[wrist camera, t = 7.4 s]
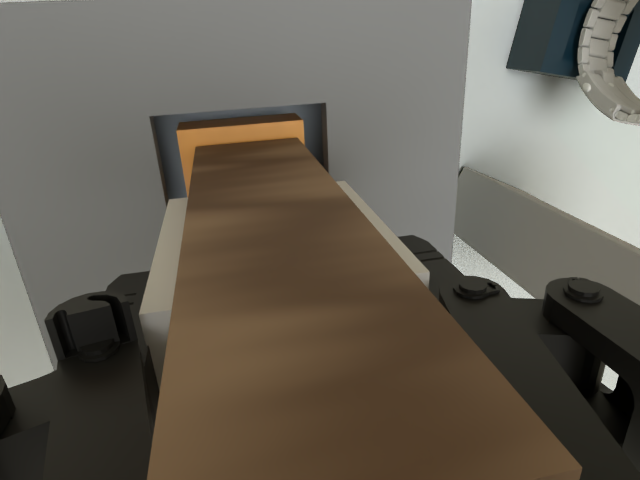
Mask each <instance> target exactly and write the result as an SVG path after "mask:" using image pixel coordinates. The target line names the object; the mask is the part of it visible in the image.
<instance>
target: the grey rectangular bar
mask: <svg viewBox="0 0 640 480" xmlns="http://www.w3.org/2000/svg"><path fill="white" fill-rule="evenodd" d="M454 234H455V235H457V236H458V237H459V238H460V239H462V240H463V241H464V242H465V243H467V244H468V245H469V246H470V247H472V248H473V249H474V250H475V251H477V252H478V253H479V254H480V255H482V256H483V257H484V258H485V259H487V260H488V261H489V262H490V263H492V264H493V265H494V266H495V267H497V268H498V269H499V270H500V271H502V272H503V273H504V274H505V275H507V276H508V277H509V278H510V279H512V280H513V281H514V282H516V283H517V284H518V285H519V286H521V287H522V288H523V289H524V290H526V291H527V292H528V293H529V294H531V295H532V296H533V297H534V298H536V299H544V294H545V289H546V285H547V284H548V283H549V282H550V281H552V280H555V279H558V278H569V277H578V278H579V277H580V278H586V279H589V280H591V281H594V282H598V283H600V284H603V285H605V286H607V287H609V288H611V289H613V290H614V291H616V292H618V293H620V294H621V295H623V296H625V297H626V298H628V299H630V300H631V301H633V302H635V303H636V304H638V305H640V249H639V248H637V247H635V246H633V245H631V244H629V243H627V242H625V241H623V240H621V239H619V238H617V237H615V236H613V235H611V234H609V233H606V232H604V231H602V230H600V229H598V228H596V227H594V226H592V225H590V224H588V223H586V222H584V221H582V220H580V219H578V218H576V217H574V216H572V215H570V214H568V213H566V212H564V211H561V210H559V209H557V208H555V207H553V206H551V205H549V204H547V203H545V202H543V201H541V200H539V199H538V198H536V197H534V196H532V195H530V194H528V193H526V192H524V191H522V190H519V189H517V188H515V187H512V186H510V185H508V184H505V183H503V182H500V181H498V180H496V179H493V178H491V177H489V176H486V175H484V174H481V173H479V172H477V171H474V170H472V169H470V168H467V167H464V168H463V170H462V172H461V174H460V176H459V178H458V185H457V198H456V211H455V223H454Z"/></svg>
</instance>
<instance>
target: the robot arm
mask: <svg viewBox="0 0 640 480" xmlns="http://www.w3.org/2000/svg"><path fill="white" fill-rule="evenodd" d="M336 183H337V184H338V185H339V186H340V187H341V188H342V190H343V191H344V192H345V193H346V194H347V195H348V196H349V198H350V199H351V200H352V201H353V202H354V203H355V205H356V206H357V207H358V208H359V209H360V210H361V212H362V213H363V214H364V215H365V216H366V217H367V219H368V220H369V221H370V222H371V223H372V224H373V225H374V227H375V228H376V229H377V230H378V231H379V232H380V234H381V235H382V236H383V237H384V238H385V239H386V241H387V242H388V243H389V244H390V245H391V246H392V247H393V249H394V250H395V251H396V252H397V253H398V254H399V256H400V257H401V258H402V259H403V260H404V261H405V263H406V264H407V265H408V266H409V267H410V268H411V270H412V271H413V272H414V273H415V274H416V275H417V276H418V278H419V279H420V280H421V281H422V282H423V283H424V285H425V286H426V287H427V288H428V289H429V290H430V292H431V293H432V294H433V295H434V296H435V297H436V298H437V300H438V301H439V302H440V303H441V304H442V305H443V307H444V308H445V309H446V310H447V311H448V312H449V314H450V315H451V316H452V317H453V318H454V319H455V320H456V322H457V323H458V324H459V325H460V326H461V327H462V329H463V330H464V331H465V332H466V333H467V334H468V336H469V337H470V338H471V339H472V340H473V341H474V343H475V344H476V345H477V346H478V347H479V348H480V349H481V351H482V352H483V353H484V354H485V355H486V356H487V358H488V359H489V360H490V361H491V362H492V363H493V365H494V366H495V367H496V368H497V369H498V370H499V371H500V373H501V374H502V375H503V376H504V377H505V378H506V380H507V381H508V382H509V383H510V384H511V385H512V387H513V388H514V389H515V390H516V391H517V392H518V394H519V395H520V396H521V397H522V398H523V399H524V400H525V402H526V403H527V404H528V405H529V406H530V407H531V409H532V410H533V411H534V412H535V413H536V414H537V416H538V417H539V418H540V419H541V420H542V421H543V422H544V424H545V425H546V426H547V427H548V428H549V429H550V431H551V432H552V433H553V434H554V435H555V436H556V438H557V439H558V440H559V441H560V442H561V443H562V444H563V446H564V447H565V448H566V449H567V450H568V451H569V453H570V454H571V455H572V456H573V457H574V458H575V460H576V461H577V462H578V463H579V464H580V465H581V467H582V472H581V475H580V479H579V480H640V305H638V304H636V303H635V302H633V301H631V300H630V299H628V298H626V297H625V296H623V295H621V294H620V293H618V292H616V291H614V290H613V289H611V288H609V287H607V286H605V285H603V284H600V283H598V282H594V281H591V280H589V279H586V278H580V277H579V278H578V277H569V278H558V279H555V280H552V281H550V282H549V283H548V284H547V285H546V289H545V294H544V299H523V298H511V297H510V296H509V295H508V293H507V292H506V291H505V289H503V288H502V287H501V286H500V285H499V284H498V283H495V282H493V281H491V280H489V279H486V278H481V277H477V276H464V275H463V274H462V273H461V272H460V271H459V270H458V269H457V268H456V267H455V266H454V265H453V264H451V263H450V262H449V261H448V260H447V259H444V256H443V255H442V254H441V253H440V252H439V251H438V252H437V249H436V248H434V247H433V246H432V245H431V244H430V243H429V242H428V241H426V240H424V239H421V238H419V237H417V236H415V235H408V236H400V237H397V236H396V235H395V234H394V233H393V232H392V231H391V230H390V229H389V228H388V226H387V225H386V224H385V223H384V222H383V221H382V220H381V219H380V218H379V217H378V216H377V215H376V214H375V213H374V211H373V210H372V209H371V208H370V207H369V206H368V205H367V204H366V203H365V202H364V201H363V200H362V199H361V198H360V196H359V195H358V194H357V193H356V192H355V191H354V190H353V189H352V188H351V187H350V186H349V185H348V184H347V183H346V181H337V182H336ZM187 201H188V197H187V198H178V199H169V201H168V205H167V209H166V212H165V216H164V220H163V224H162V228H161V232H160V235H159V239H158V243H157V247H156V251H155V254H154V258H153V262H152V266H151V270H150V271H145V272H137V273H130V274H122V275H120V276H119V277H117V278H116V279H115V280H114V281H113V282H112V283H110V284H109V285H108V286H107V289H106V291H100V292H93V293H87V294H84V295H80V296H77V297H74V298H71V299H69V300H67V301H65V302H63V303H61V304H59V305H58V306H57V307H55V308H54V309H53V310H51V311H50V312H49V313H48V315H47V317H46V318H45V320H44V322H45V325H46V328H47V331H48V334H49V337H50V340H51V343H52V346H53V348H54V351H55V354H56V357H57V360H58V362H57V370H55V371H53V372H52V373H50V374H47V375H45V376H42V377H40V378H37V379H34V380H31V381H29V382H26V383H23V384H20V385H17V386H14V387H11V388H7V385H6V383H5V381H4V379H3V377H2V375H0V480H147V475H148V468H149V462H150V455H151V448H152V441H153V434H154V427H155V420H156V414H157V407H158V400H159V393H160V386H161V379H162V373H163V366H164V359H165V352H166V345H167V338H168V332H169V325H170V318H171V311H172V304H173V297H174V290H175V284H176V277H177V270H178V263H179V256H180V249H181V243H182V236H183V229H184V222H185V215H186V208H187ZM605 365H607V366H608V367H610V368H611V369H612V370H613V371H615V372H616V373H617V374H618V375H619V377H618V380H617V384H616V388H615V389H614V391H612V390H611V389H609V388H607V387H606V386H605V385H604V384H602V383H601V381H602V377H603V373H604V369H605Z"/></svg>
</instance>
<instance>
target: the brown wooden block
mask: <svg viewBox="0 0 640 480" xmlns="http://www.w3.org/2000/svg"><path fill="white" fill-rule="evenodd" d="M581 472H582V467H581V465H580V464H579V463H578V462H577V461H576V460H575V458H574V457H573V456H572V455H571V454H570V453H569V451H568V450H567V449H566V448H565V447H564V446H563V444H562V443H561V442H560V441H559V440H558V439H557V438H556V436H555V435H554V434H553V433H552V432H551V431H550V429H549V428H548V427H547V426H546V425H545V424H544V422H543V421H542V420H541V419H540V418H539V417H538V416H537V414H536V413H535V412H534V411H533V410H532V409H531V407H530V406H529V405H528V404H527V403H526V402H525V400H524V399H523V398H522V397H521V396H520V395H519V394H518V392H517V391H516V390H515V389H514V388H513V387H512V385H511V384H510V383H509V382H508V381H507V380H506V378H505V377H504V376H503V375H502V374H501V373H500V371H499V370H498V369H497V368H496V367H495V366H494V365H493V363H492V362H491V361H490V360H489V359H488V358H487V356H486V355H485V354H484V353H483V352H482V351H481V349H480V348H479V347H478V346H477V345H476V344H475V343H474V341H473V340H472V339H471V338H470V337H469V336H468V334H467V333H466V332H465V331H464V330H463V329H462V327H461V326H460V325H459V324H458V323H457V322H456V320H455V319H454V318H453V317H452V316H451V315H450V314H449V312H448V311H447V310H446V309H445V308H444V307H443V305H442V304H441V303H440V302H439V301H438V300H437V298H436V297H435V296H434V295H433V294H432V293H431V292H430V290H429V289H428V288H427V287H426V286H425V285H424V283H423V282H422V281H421V280H420V279H419V278H418V276H417V275H416V274H415V273H414V272H413V271H412V270H411V268H410V267H409V266H408V265H407V264H406V263H405V261H404V260H403V259H402V258H401V257H400V256H399V254H398V253H397V252H396V251H395V250H394V249H393V247H392V246H391V245H390V244H389V243H388V242H387V241H386V239H385V238H384V237H383V236H382V235H381V234H380V232H379V231H378V230H377V229H376V228H375V227H374V225H373V224H372V223H371V222H370V221H369V220H368V219H367V217H366V216H365V215H364V214H363V213H362V212H361V210H360V209H359V208H358V207H357V206H356V205H355V203H354V202H353V201H352V200H351V199H350V198H349V196H348V195H347V194H346V193H345V192H344V191H343V190H342V188H341V187H340V186H339V185H338V184H337V183H336V181H335V180H334V179H333V178H332V177H331V176H330V174H329V173H328V172H327V171H326V170H325V169H324V168H323V166H322V165H321V164H320V163H319V162H318V161H317V159H316V158H315V157H314V156H313V155H312V154H311V152H310V151H309V150H308V149H307V148H306V147H305V146H304V144H303V143H302V142H301V141H300V140H299V139H298V138H287V139H276V140H264V141H253V142H242V143H231V144H219V145H208V146H197V147H195V154H194V160H193V167H192V174H191V181H190V188H189V195H188V201H187V208H186V215H185V222H184V229H183V236H182V243H181V249H180V256H179V263H178V270H177V277H176V284H175V290H174V297H173V304H172V311H171V318H170V325H169V332H168V338H167V345H166V352H165V359H164V366H163V373H162V379H161V386H160V393H159V400H158V407H157V414H156V420H155V427H154V434H153V441H152V448H151V455H150V462H149V468H148V475H147V480H579V479H580V475H581Z"/></svg>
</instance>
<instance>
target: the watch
mask: <svg viewBox="0 0 640 480" xmlns="http://www.w3.org/2000/svg"><path fill="white" fill-rule="evenodd" d="M639 44H640V0H524V4H523V8H522V11H521V15H520V19H519V22H518V26H517V30H516V33H515V37H514V41H513V44H512V48H511V52H510V55H509V59H508V62H507V66H506V68H508V69H514V70H520V71H526V72H532V73H538V74H544V75H550V76H556V77H562V78H568V79H574V80H577V81H578V83H579V85H580V87H581V89H582V90H583V92H584V93H585V95H586V96H587V98H588V99H589V100H590V102H591V103H592V104H593V105H594V106H595V107H596V108H597V109H598V110H599V111H601V112H602V113H603V114H604V115H606V116H607V117H609V118H610V119H612V120H613V121H617V122H621V123H625V124H631V125H638V126H640V99H639V98H638V97H636V96H635V94H634V93H633V92H632V91H631V90H630V88H629V87H628V86H627V84H626V83H625V82H626V79H627V77H628V74H629V71H630V69H631V66H632V63H633V60H634V58H635V55H636V52H637V49H638V47H639Z"/></svg>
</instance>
